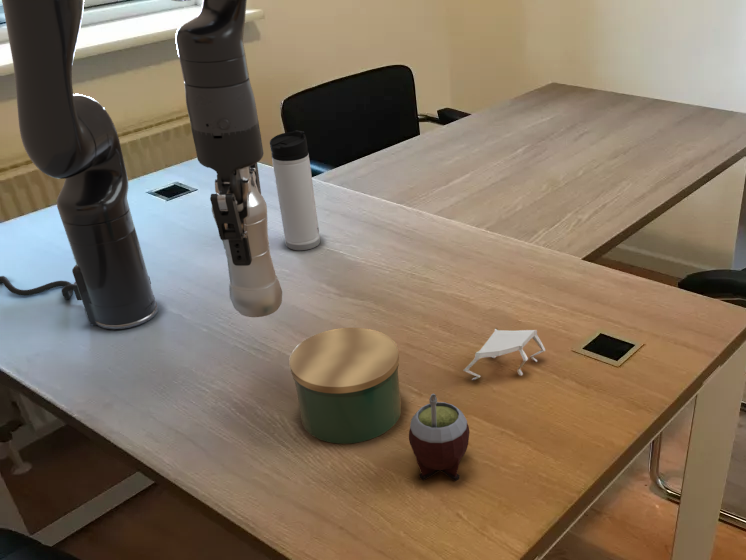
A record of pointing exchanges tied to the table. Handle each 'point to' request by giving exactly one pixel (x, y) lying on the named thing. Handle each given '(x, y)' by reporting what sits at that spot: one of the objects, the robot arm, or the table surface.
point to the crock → (347, 384)
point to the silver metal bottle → (254, 263)
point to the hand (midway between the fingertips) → (248, 251)
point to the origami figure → (506, 346)
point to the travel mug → (295, 190)
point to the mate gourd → (438, 438)
